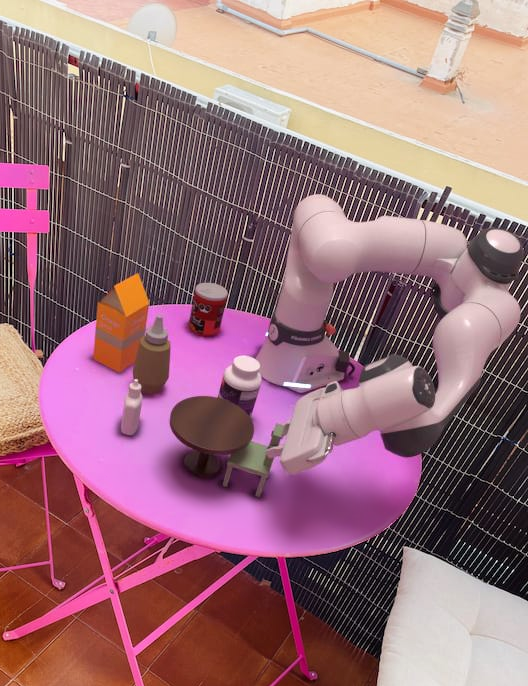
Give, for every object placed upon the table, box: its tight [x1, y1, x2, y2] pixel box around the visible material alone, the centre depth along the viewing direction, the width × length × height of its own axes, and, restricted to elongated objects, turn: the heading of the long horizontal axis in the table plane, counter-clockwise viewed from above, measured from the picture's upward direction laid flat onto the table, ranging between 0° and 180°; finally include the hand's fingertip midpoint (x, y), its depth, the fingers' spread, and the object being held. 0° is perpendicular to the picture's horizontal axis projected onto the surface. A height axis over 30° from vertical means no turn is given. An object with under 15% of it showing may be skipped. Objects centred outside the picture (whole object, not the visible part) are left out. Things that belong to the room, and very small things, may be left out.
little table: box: [169, 395, 255, 478], centre depth 132 cm, size 16×16×11 cm
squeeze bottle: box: [132, 314, 172, 396], centre depth 146 cm, size 8×8×18 cm
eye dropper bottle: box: [120, 379, 143, 436], centre depth 137 cm, size 4×6×12 cm
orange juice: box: [92, 272, 150, 373], centre depth 151 cm, size 8×9×20 cm
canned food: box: [188, 282, 228, 338], centre depth 169 cm, size 8×8×11 cm
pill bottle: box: [217, 355, 263, 419], centre depth 143 cm, size 8×8×14 cm
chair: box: [222, 423, 284, 498], centre depth 130 cm, size 8×8×14 cm
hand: (270, 444), depth 128 cm, fingers open, 4 cm apart
